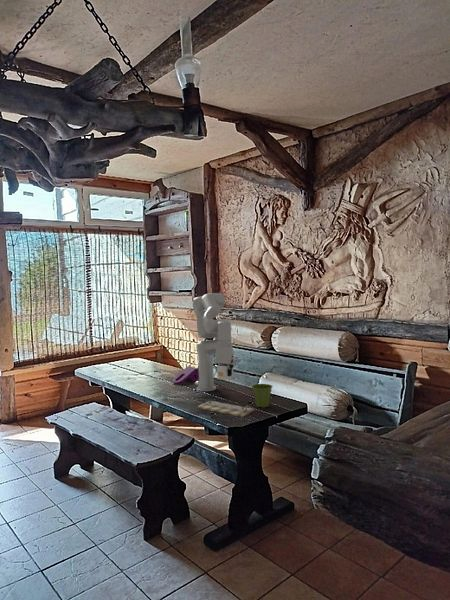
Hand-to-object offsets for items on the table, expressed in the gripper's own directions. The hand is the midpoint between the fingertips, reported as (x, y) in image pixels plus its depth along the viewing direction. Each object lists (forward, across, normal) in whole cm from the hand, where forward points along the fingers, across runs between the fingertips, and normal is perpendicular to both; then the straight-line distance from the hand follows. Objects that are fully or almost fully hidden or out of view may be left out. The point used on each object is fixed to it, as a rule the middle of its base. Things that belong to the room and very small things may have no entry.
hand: (225, 375), depth 255 cm
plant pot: (+19, +16, +12) cm, 28 cm away
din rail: (+18, +2, -4) cm, 19 cm away
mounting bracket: (+18, -57, +32) cm, 67 cm away
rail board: (+18, +2, -4) cm, 19 cm away
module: (+2, 0, 0) cm, 2 cm away
